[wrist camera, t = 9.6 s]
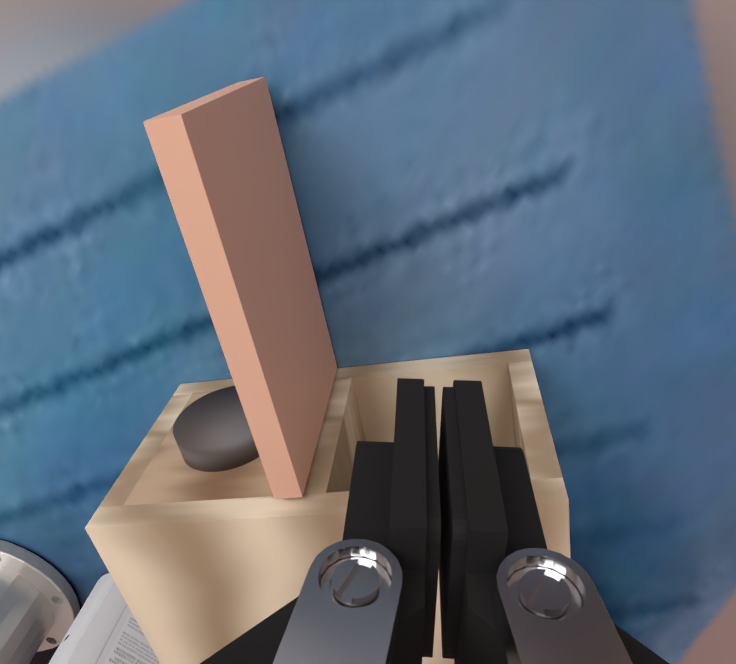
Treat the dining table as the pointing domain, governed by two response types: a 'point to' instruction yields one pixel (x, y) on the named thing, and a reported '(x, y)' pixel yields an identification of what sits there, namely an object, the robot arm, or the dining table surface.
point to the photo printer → (105, 631)
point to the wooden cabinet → (280, 516)
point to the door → (252, 268)
